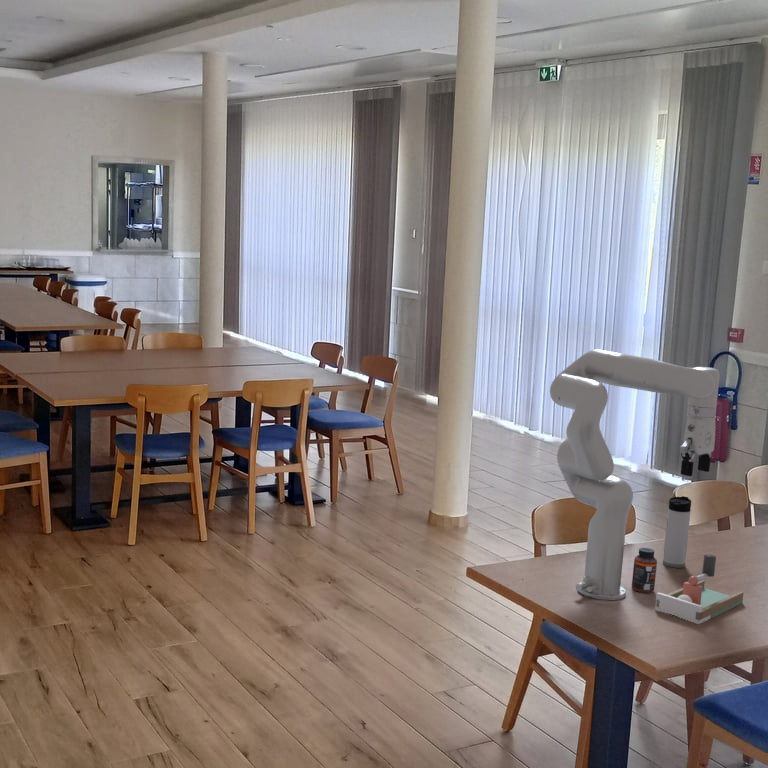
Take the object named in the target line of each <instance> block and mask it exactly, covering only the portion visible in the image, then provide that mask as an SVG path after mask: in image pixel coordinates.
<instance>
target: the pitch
mask: <svg viewBox="0 0 768 768" xmlns="http://www.w3.org/2000/svg"><path fill="white" fill-rule="evenodd" d="M705 582H706V581H705V580H702V581H699V582H698V584H697V585H700V586H702V595H701V604H700V605H698V604H695V603H691V602H688V601H685V600H682V599H679V598H678V597H679V596H680V595H682V592H683V587H681V588H679V589H675V590H673V591H671V592H669V593H666V594H665V593H662V592H656V598H655V607H654V608H655V609H656V610H655V609H654V610H655V611H657V610H658V611H657V612H660V611H662V612H661V613H663V612H665V613H664V614H666V613H669V614H672V615H675V616H678V617H680V618H679V619H681V618H683V619H682V620H684V619H685V621H687V620H688V622H690V621H691V623H693V622H694V624H695V625H696V624H697V625H700V624H702V623H705V622H706V621H709V620H710V619H713V618H714V617H716V616H720V615H721V614H723V613H725V612H727V611H729V610H731V609H733V608H736V607H737V605H738V606H739V604H740V605H742V604H743V601H744V591H741V590H739V591H737V592H736V593H733V594H731V595H728V594H724V593H721V592H719V591H715V590H711V589H709V588H705ZM741 603H742V604H741ZM735 606H736V607H735ZM669 614H668V615H669ZM672 615H671V616H672ZM675 616H674V617H675ZM678 617H677V618H678Z"/></svg>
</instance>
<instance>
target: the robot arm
mask: <svg viewBox="0 0 768 768" xmlns="http://www.w3.org/2000/svg"><path fill="white" fill-rule="evenodd" d="M719 383H720V371H719V370H718V369H716V368H714V367H708V366H695V367H688V366H687V367H686V366H682V365H676V364H673V363H669V362H666V361H662V360H658V359H655V358H654V359H653V358H649V357H643V356H638V355H633V354H626V353H623V352H622V353H621V352H615V351H609V350H603V349H599V348H596V349H595V348H594V349H592V350H589V351H587V352H585V353H584V354H583V355H581V356H580V357H579V358H577V359H576V360H574V361H573V362H572V363H571V364H570V365H568V366H567V367H566V368H565V369H563V370H562V371H561V372H560V373H558V374H557V375H556V376H555V377H554V379H553V380H552V382H551V385H550V387H549V395H550V398H551V399H552V401H553V402H554V403H555V404H556V405H558V406H560V407H562V408H566V409H571V410H574V411H573V413H572V415H571V418H570V420H569V422H568V424H567V427H566V432H565V433H566V439H565V440H563V441H562V443H561V444H560V445H559V447H558V450H557V455H556V458H557V460H556V461H557V465H558V468H559V470H560V472H561V473H562V477H563V479H564V480H565V482H566V483H565V484H566V485H567V487H568V489H569V491H570V493H571V494H572V496H573V497H574V498H575V500H576V501H578V502H580V503H582V504H585V505H587V506H590V507H593V508H595V509H596V511H595V513H594V515H593V516H592V518H591V519H590V521H589V524H588V531H587V533H588V534H587V543H586V555H585V556H586V557H585V567H584V575H583V579H582V581H581V582H579V583H577V584H576V585H575V590H576V591H577V592H578V593H580V594H582V595H584V596H585V597H589V598H593V599H597V600H605V601H616V600H622V599H624V598H625V597H626V593H627V590H626V588H624V586H621V584H622V582H621V581H622V573H623V572H622V571H623V560H624V553H625V552H624V551H625V540H626V529H627V523H628V517H629V512H630V510H631V508H632V507H631V506H632V505H633V504H632V503H633V501H634V500H633V499H634V493H633V488H632V487H631V485H630V484H629V483H628V482H627V481H626V480H625V479H623V478H621V477H618V476H615V475H612V474H613V471H614V466H615V465H614V460H613V456H612V454H611V452H610V449H609V448H608V445H607V443H606V440H605V439H604V436H603V434H602V431H601V426H600V423H601V419H602V415H603V413H604V411H605V409H606V406H607V403H608V398H609V395H608V394H609V393H608V390H607V388H606V386H605V385H604V384H606V385H610V386H614V387H619V388H620V387H621V388H627V389H632V390H633V389H634V390H638V391H645V392H651V393H655V394H656V393H658V394H670V395H675V396H682V397H688V399H687V408H686V409H687V411H686V417H687V419H686V423H685V429H684V434H683V440H682V442H683V443H682V445H680V456H681V459H680V460H681V468H680V474H681V475H683V476H687V477H692V476H693V471H694V461H693V460H694V458H695V456H696V455H697V456H699V457H698V465H697V470H698V471H702V472H707V473H708V472H710V467H711V458H712V456H713V454H712V453H713V452H714V451H715V444H716V443H715V442H716V413H717V404H718V395H719V386H720V385H719Z"/></svg>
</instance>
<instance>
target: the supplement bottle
mask: <svg viewBox="0 0 768 768" xmlns="http://www.w3.org/2000/svg"><path fill="white" fill-rule="evenodd" d="M633 560H634V562H633V569H632V580H631V588H632V590H633V591H634V592H637V593H640V594H641V593H642V594H651V593H653V592H655V588H656V587H655V586H656V576H657V575H656V574H657V567H658V566H657V564H658V560H657V558H656V557H655V550H654V549H653V548H649V547H639V548H638V555H635V557H634V559H633Z"/></svg>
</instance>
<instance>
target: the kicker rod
mask: <svg viewBox="0 0 768 768" xmlns="http://www.w3.org/2000/svg"><path fill="white" fill-rule="evenodd" d="M702 561H703V562H702V573H701V574H699V575H696V576H695V575H692V576H690V577H689V578H688V581H685V582H683V584H682V588H683V592H682V595H687V596H689V597H690V598H691V599H692V603H695V604H698V605H700V604H701V595H702V586H700V585H697V584H698V582H699V581H702V580H703V581H705V580H706V579H709V578H711V577H715V571H716V563H717V556H716V555H713V554H709V553H708V554H704V555H703V560H702Z"/></svg>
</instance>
